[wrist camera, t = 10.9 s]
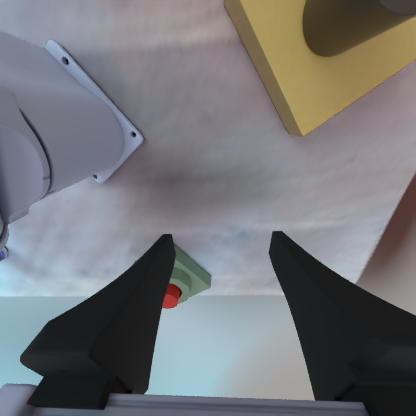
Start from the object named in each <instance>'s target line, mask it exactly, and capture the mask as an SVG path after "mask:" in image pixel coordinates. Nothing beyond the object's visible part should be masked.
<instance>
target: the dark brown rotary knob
mask: <svg viewBox="0 0 416 416" xmlns="http://www.w3.org/2000/svg"><path fill="white" fill-rule="evenodd" d="M414 17H416V0H306V2H305V6H304V12H303V33H304V38H305V40H306V43H307V45H308V46H309V48H310V49H311V50H312V51H313V52H314V53H316V54H318V55H320V56H324V57H332V56H336V55H339V54H341V53H343V52H345V51H347V50H349V49H351V48H353V47H355V46H357V45H359V44H361V43H363V42H365V41H367V40H369V39H371V38H373V37H375V36H377V35H379V34H381V33H383V32H385V31H387V30H389V29H391V28H393V27H396V26H398V25H400V24H402V23H404V22H406V21H408V20H410V19H412V18H414Z"/></svg>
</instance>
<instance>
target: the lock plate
mask: <svg viewBox="0 0 416 416" xmlns="http://www.w3.org/2000/svg"><path fill="white" fill-rule="evenodd" d="M305 2H306V0H224V5H225V7H226V9H227V11H228V13H229V15H230V17H231V19H232V21H233V23H234V25H235V27H236V29H237V31H238V33H239V35H240V37H241V39H242V42H243V44H244V46H245V48H246V50H247V52H248V54H249V56H250V58H251V60H252V62H253V64H254V66H255V68H256V70H257V72H258V74H259V76H260V78H261V80H262V82H263V84H264V86H265V88H266V90H267V92H268V94H269V96H270V98H271V100H272V102H273V104H274V106H275V108H276V110H277V112H278V114H279V116H280V118H281V120H282V122H283V124H284V126H285V128H286V130H287V132H288V133H289V134H293V135H297V136H302V137H303V136H305V135H306V134H308V133H309V132H311V131H312V130H314V129H315V128H317V127H318V126H320V125H321V124H322V123H324V122H325V121H327V120H328V119H330V118H331V117H333V116H334V115H336V114H337V113H338V112H340V111H341V110H343V109H344V108H346V107H347V106H349V105H350V104H351V103H353V102H354V101H356V100H357V99H359V98H360V97H362V96H363V95H365V94H366V93H367V92H369V91H370V90H372V89H373V88H375V87H376V86H378V85H379V84H381V83H382V82H383V81H385V80H386V79H388V78H389V77H391V76H392V75H394V74H395V73H397V72H398V71H399V70H401V69H402V68H404V67H405V66H407V65H408V64H410V63H411V62H412V61H414V60H415V59H416V17H414V18H412V19H410V20H408V21H406V22H404V23H402V24H400V25H398V26H396V27H393V28H391V29H389V30H387V31H385V32H383V33H381V34H379V35H377V36H375V37H373V38H371V39H369V40H367V41H365V42H363V43H361V44H359V45H357V46H355V47H353V48H351V49H349V50H347V51H345V52H343V53H341V54H339V55H336V56H332V57H324V56H320V55H318V54H316V53H314V52H313V51H312V50H311V49H310V48H309V46H308V45H307V43H306V40H305V38H304V33H303V12H304V6H305Z"/></svg>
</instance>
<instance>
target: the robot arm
mask: <svg viewBox="0 0 416 416" xmlns="http://www.w3.org/2000/svg"><path fill="white" fill-rule="evenodd" d="M66 59H68V61H69V64H68V65H67V63H66ZM133 132H135V133H136V137H134V136H133ZM143 141H144V137H143V136H142V134H141V133H140V132H139V131H138V130H137V129H136V128H135V127H134V126H133V124H132V123H131V122H130V121H129V120H128V119H127V118H126V117H125V116H124V114H123V113H122V112H121V111H120V110H119V109H118V108H117V107H116V106H115V105H114V103H113V102H112V101H111V100H110V99H109V98H108V97H107V96H106V95H105V93H104V92H103V91H102V90H101V89H100V88H99V87H98V86H97V85H96V84H95V82H94V81H93V80H92V79H91V78H90V77H89V76H88V75H87V74H86V73H85V71H84V70H83V69H82V68H81V67H80V66H79V65H78V64H77V63H76V61H75V60H74V59H73V58H72V57H71V56H70V55H69V54H68V53H67V52H66V50H65V49H64V48H63V47H62V46H61V45H60V44H59V43H58V42H56V41H54V40H49V41H48V42H47V44H46V46H45V48H42V47H40V46H37V45H35V44H32V43H30V42H28V41H25V40H23V39H20V38H18V37H15V36H13V35H10V34H8V33H5V32H3V31H0V252H1V251H2V249H3V248H4V246H5V244H6V243H7V240H8V236H9V230H8V224H10V223H12V222H14V221H16V220H18V219H19V218H21V217H23V216H25V215H27V214H28V210H29V207H30V206H31V205H32V204H34V203H35V202H37V201H39V200H41V199H43V198H45V197H48V196H50V195H52V194H54V193H56V192H58V191H60V190H62V189H64V188H66V187H68V186H71V185H73V184H75V183H77V182H79V181H81V180H83V179H85V178H87V177H89V176H90V177H91V178H93V179H94V180H95V181H96V182H97V183H100V184H102V183H104V182H105V181H106V180H107V179H108V178H109V177H110V176H111V175H112V174H113V173H114V172H115V171H116V170H117V169H118V168H119V167H120V166H121V165H122V164H123V162H124V161H125V160H126V159H127V158H128V157H129V156H130V155H131V154H132V153H133V152H134V151H135V150H136V149H137V148H138V147H139V146H140V145H141V144H142V143H143ZM95 175H97V177H96V176H95ZM269 255H270V259H271V262H272V266H273V268H274V271H275V273H276V276H277V278H278V280H279V283H280V285H281V287H282V290H283V292H284V294H285V297H286V299H287V302H288V305H289V308H290V310H291V314H292V317H293V320H294V323H295V327H296V330H297V333H298V337H299V340H300V344H301V347H302V351H303V355H304V358H305V361H306V365H307V370H308V373H309V378H310V381H311V385H312V390H313V394H314V398H315V401H310V400H282V399H254V398H227V397H226V398H225V397H200V396H172V395H144V393H145V392H146V391H147V390H148V386H149V378H150V372H151V365H152V358H153V353H154V347H155V341H156V336H157V330H158V325H159V320H160V315H161V310H162V306H163V302H164V298H165V295H166V291H167V288H168V285H169V282H170V278H171V275H172V272H173V268H174V263H175V258H176V252H175V247H174V243H173V238H172V234H163V235H162V236H161V237H160V238H159V239H158V240H157V241H156V242H155V243H154V245H153V246H152V247H151V248H150V249H149V250H148V251H147V252H146V253H145V254H144V255H143V256H142V257H141V258H140V259H139V260H138V261H137V262H136V263H135V264H133V265H132V266H131V267H130V268H129V269H128V270H127V271H125V272H124V273H123V274H122V275H120V276H119V277H118V278H117V279H115V280H114V281H113V282H111V283H110V284H109V285H107V286H106V287H104V288H103V289H102V290H100V291H99V292H97V293H96V294H94V295H93V296H91V297H90V298H88V299H87V300H85V301H84V302H82V303H80V304H78V305H77V306H75V307H74V308H72V309H70V310H68V311H66V312H65V313H63V314H61V315H60V316H58V317H56V318H55V319H52V320H50V321H49V322H48V323H47V324H46V325H45V326H44V327H43V329H42V330H41V331H40V332H39V334H38V335H37V336H36V337H35V339H34V340H33V341H32V342H31V343H30V345H29V346H28V347H27V349H26V350H25V351H24V352H23V353H22V355H21V356H20V362H21V363H22V364H23V365H24V366H26V367H27V368H29V369H31V370H33V371H34V372H36V373H38V374H40V375H41V376H43V379H42V380H41V382H40V383H39V385H38V386H35V385H31V384H5V385H3V386H2V388H1V389H0V416H416V316H415V315H413V314H411V313H409V312H407V311H405V310H403V309H400V308H398V307H396V306H394V305H392V304H390V303H388V302H386V301H384V300H382V299H381V298H379V297H376V296H374V295H373V294H371V293H369V292H367V291H365V290H364V289H362V288H360V287H358V286H357V285H355V284H353V283H352V282H350V281H348V280H346V279H345V278H343V277H342V276H340V275H339V274H337V273H335V272H334V271H332V270H331V269H329V268H328V267H326V266H325V265H323V264H322V263H321V262H319V261H318V260H317V259H315V258H314V257H313V256H311V255H310V254H309V253H307V252H306V251H305V250H304V249H302V248H301V247H300V246H299V245H298V244H296V243H295V242H294V241H293V240H292V239H290V238H289V237H288V236H287V235H286V234H285V233H283V232H282V231H273V232H272V238H271V243H270V249H269Z"/></svg>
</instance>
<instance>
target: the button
mask: <svg viewBox="0 0 416 416" xmlns="http://www.w3.org/2000/svg"><path fill="white" fill-rule="evenodd" d="M179 295H180V288H179V287H178V286H176V285H175V284H171V283H169V285H168V288H167V291H166V295H165V298H164V302H163V306H162V308H173V307H175V306H177V304H178V301H179Z"/></svg>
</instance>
